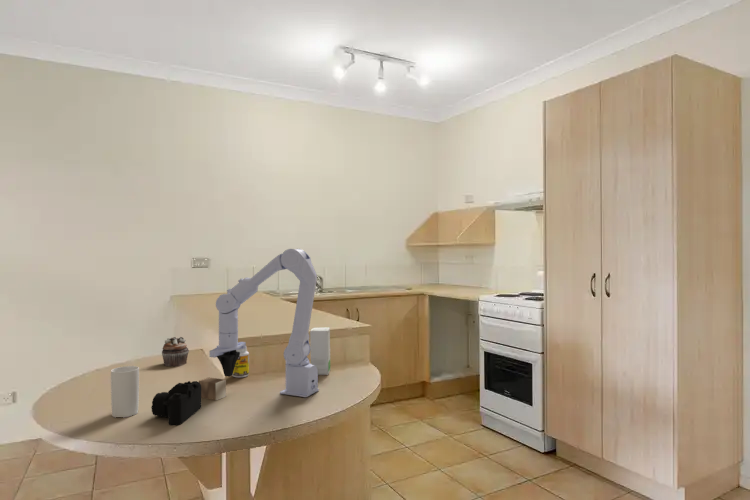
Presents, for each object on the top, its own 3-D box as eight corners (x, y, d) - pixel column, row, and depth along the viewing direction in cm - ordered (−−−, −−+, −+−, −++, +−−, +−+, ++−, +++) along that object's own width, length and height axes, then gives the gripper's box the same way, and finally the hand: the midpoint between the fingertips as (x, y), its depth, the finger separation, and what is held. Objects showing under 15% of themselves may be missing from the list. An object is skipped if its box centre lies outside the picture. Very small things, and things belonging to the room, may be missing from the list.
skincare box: (328, 375, 165) (328, 330, 165) (309, 375, 165) (309, 330, 165) (330, 369, 173) (330, 326, 173) (312, 369, 173) (312, 326, 173)
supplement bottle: (231, 378, 161) (231, 348, 161) (233, 374, 166) (233, 345, 166) (247, 377, 162) (247, 347, 162) (250, 373, 167) (249, 344, 167)
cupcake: (156, 366, 177) (156, 339, 177) (171, 360, 187) (171, 335, 186) (179, 367, 175) (179, 340, 175) (193, 361, 185) (193, 335, 185)
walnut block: (225, 379, 141) (208, 377, 144) (216, 383, 138) (198, 380, 141) (225, 396, 141) (208, 393, 144) (216, 400, 138) (198, 397, 141)
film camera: (172, 406, 133) (172, 374, 133) (205, 406, 133) (205, 374, 133) (142, 426, 118) (142, 390, 118) (179, 427, 118) (179, 391, 117)
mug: (134, 417, 124) (134, 371, 124) (106, 419, 123) (106, 372, 123) (145, 404, 134) (145, 362, 134) (120, 406, 133) (120, 363, 132)
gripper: (233, 327, 156) (233, 368, 156) (201, 335, 142) (201, 380, 142) (251, 329, 153) (251, 371, 153) (220, 336, 140) (220, 382, 140)
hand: (228, 375), depth 148 cm, fingers closed
